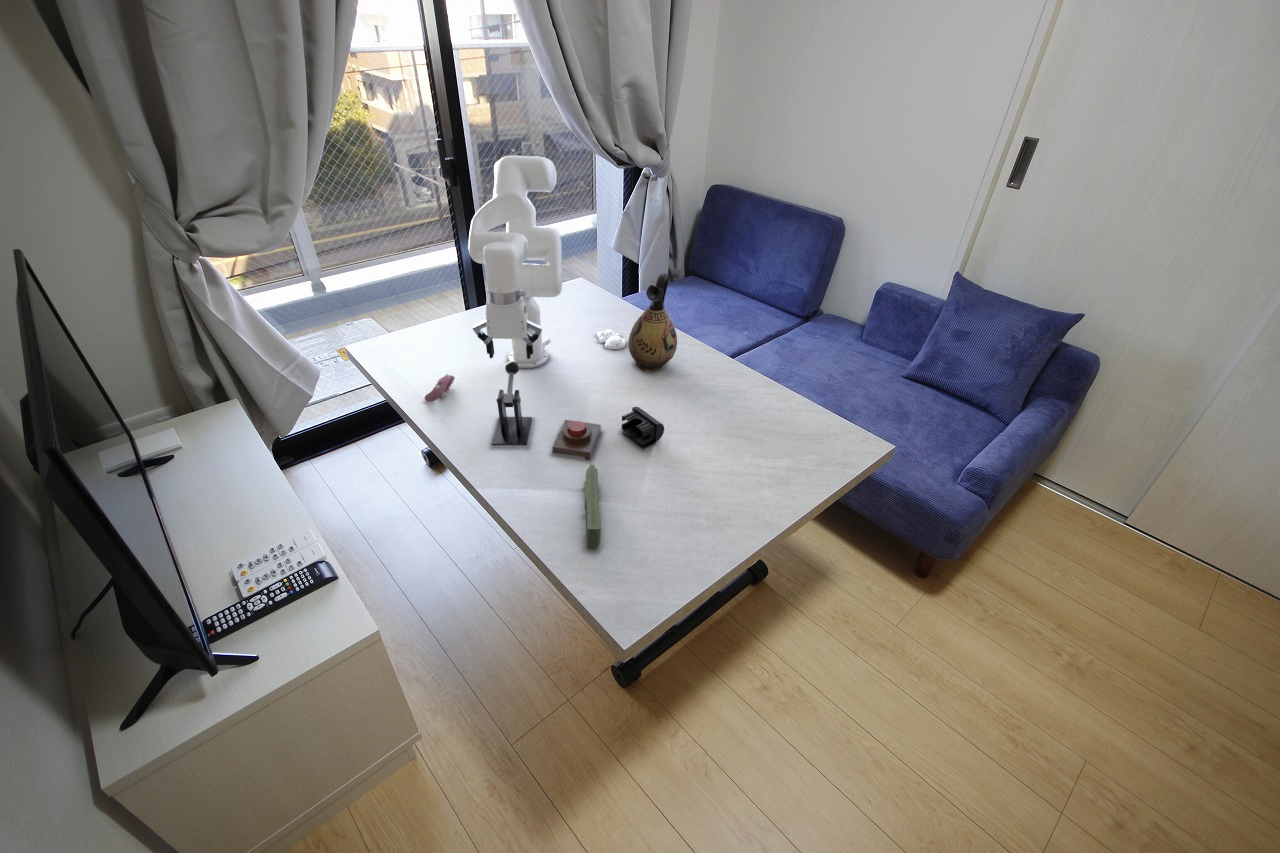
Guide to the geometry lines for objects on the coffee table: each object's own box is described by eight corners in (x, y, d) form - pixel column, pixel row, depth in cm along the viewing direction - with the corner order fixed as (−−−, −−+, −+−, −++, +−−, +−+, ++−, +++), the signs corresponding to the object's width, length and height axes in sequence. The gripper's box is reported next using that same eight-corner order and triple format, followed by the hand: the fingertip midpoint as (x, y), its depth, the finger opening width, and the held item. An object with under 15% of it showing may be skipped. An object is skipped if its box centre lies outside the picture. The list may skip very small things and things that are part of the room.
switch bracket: (499, 420, 158) (494, 381, 150) (532, 420, 158) (528, 381, 150) (492, 447, 148) (486, 407, 140) (526, 447, 149) (522, 408, 141)
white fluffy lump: (615, 331, 201) (615, 323, 199) (629, 347, 193) (630, 339, 191) (592, 335, 198) (592, 328, 196) (606, 352, 190) (606, 344, 188)
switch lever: (507, 366, 154) (505, 358, 150) (520, 366, 154) (518, 358, 151) (502, 408, 147) (500, 401, 144) (516, 408, 147) (514, 401, 144)
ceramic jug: (666, 381, 177) (674, 291, 158) (620, 370, 181) (622, 282, 162) (682, 356, 190) (691, 270, 171) (639, 346, 193) (643, 261, 175)
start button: (571, 425, 150) (570, 419, 149) (587, 427, 150) (587, 422, 149) (566, 435, 147) (566, 429, 146) (583, 437, 147) (582, 432, 146)
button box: (565, 427, 156) (564, 414, 154) (600, 432, 155) (600, 419, 152) (552, 454, 147) (551, 441, 144) (590, 460, 146) (590, 447, 143)
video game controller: (437, 408, 163) (443, 392, 159) (422, 400, 162) (428, 384, 158) (452, 390, 171) (459, 374, 166) (439, 382, 170) (445, 366, 166)
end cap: (663, 440, 154) (665, 420, 150) (644, 450, 150) (645, 430, 146) (639, 422, 159) (640, 403, 155) (620, 432, 156) (620, 412, 152)
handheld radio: (584, 549, 123) (584, 471, 142) (599, 549, 123) (597, 471, 143) (585, 528, 118) (585, 451, 138) (601, 528, 119) (598, 451, 139)
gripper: (541, 289, 142) (545, 349, 152) (471, 287, 141) (479, 348, 151) (538, 302, 136) (542, 364, 146) (464, 300, 135) (474, 362, 145)
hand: (510, 356), depth 149 cm, fingers open, 9 cm apart
